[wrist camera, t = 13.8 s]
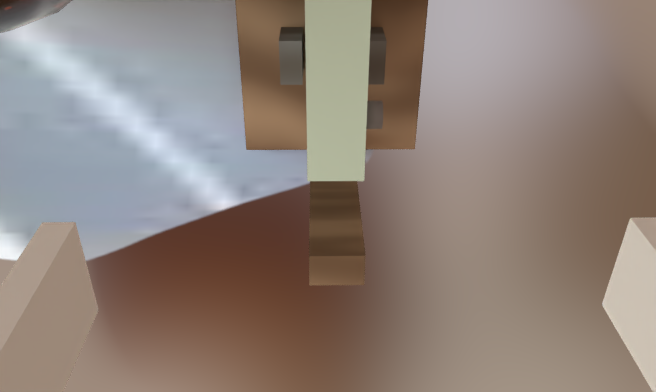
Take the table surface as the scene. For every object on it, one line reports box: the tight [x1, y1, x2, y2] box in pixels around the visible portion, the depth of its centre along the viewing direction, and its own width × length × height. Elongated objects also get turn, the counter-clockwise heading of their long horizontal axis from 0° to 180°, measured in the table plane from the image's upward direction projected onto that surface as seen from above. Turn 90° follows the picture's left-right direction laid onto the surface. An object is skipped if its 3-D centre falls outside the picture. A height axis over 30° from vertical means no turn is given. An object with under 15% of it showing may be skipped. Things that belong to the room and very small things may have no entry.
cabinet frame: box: [235, 0, 428, 285], centre depth 34 cm, size 25×13×18 cm, turn 0°
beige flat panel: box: [305, 0, 383, 181], centre depth 34 cm, size 14×4×14 cm, turn 0°
